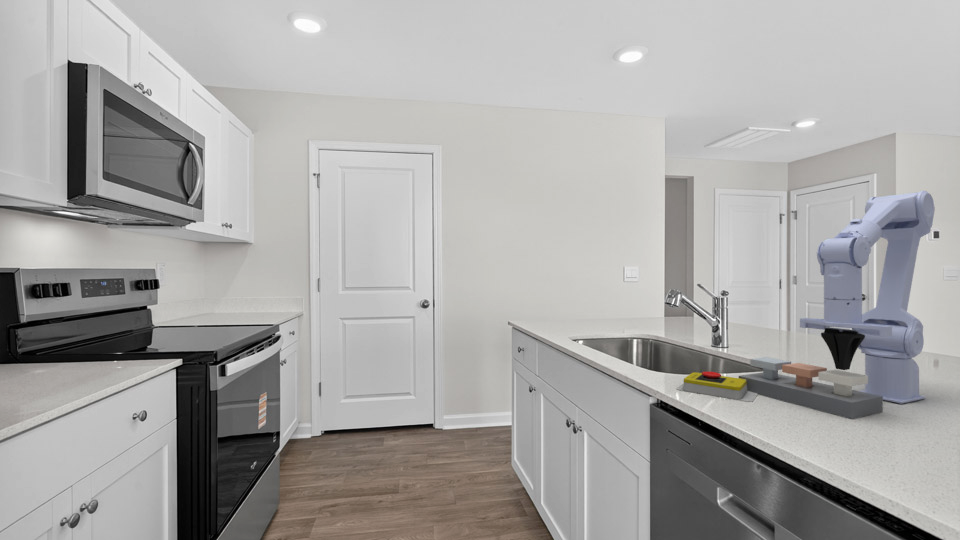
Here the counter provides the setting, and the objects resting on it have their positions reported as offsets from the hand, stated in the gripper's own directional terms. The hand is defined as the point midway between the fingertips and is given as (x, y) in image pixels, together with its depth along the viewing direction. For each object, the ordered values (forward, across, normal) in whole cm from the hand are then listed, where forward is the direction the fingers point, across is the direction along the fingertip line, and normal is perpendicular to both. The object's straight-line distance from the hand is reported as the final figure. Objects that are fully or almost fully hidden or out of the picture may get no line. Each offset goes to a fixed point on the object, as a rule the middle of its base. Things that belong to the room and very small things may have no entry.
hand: (842, 369), depth 85 cm
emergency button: (+9, -19, -11) cm, 23 cm away
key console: (+8, -7, 0) cm, 10 cm away
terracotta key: (+5, -7, 0) cm, 9 cm away
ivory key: (+5, 0, 0) cm, 5 cm away
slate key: (+5, -14, 0) cm, 15 cm away
